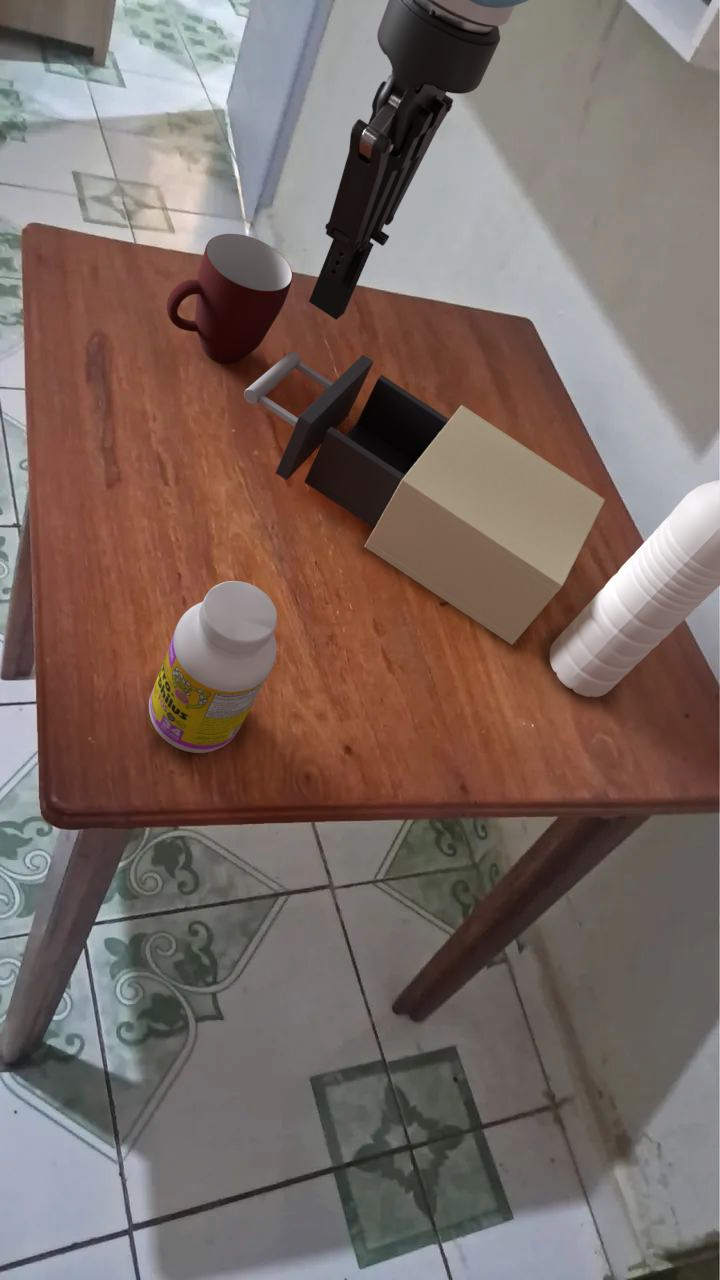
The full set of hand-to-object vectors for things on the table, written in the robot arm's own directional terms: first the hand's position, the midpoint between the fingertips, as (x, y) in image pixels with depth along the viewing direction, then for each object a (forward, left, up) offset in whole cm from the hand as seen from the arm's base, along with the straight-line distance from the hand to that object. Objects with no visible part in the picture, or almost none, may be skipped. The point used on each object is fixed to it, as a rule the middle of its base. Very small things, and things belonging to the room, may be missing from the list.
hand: (326, 307), depth 78 cm
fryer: (+21, 0, -14) cm, 25 cm away
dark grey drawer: (+7, 0, -13) cm, 15 cm away
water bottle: (+36, -5, -14) cm, 39 cm away
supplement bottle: (+11, -31, -14) cm, 36 cm away
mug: (-10, +4, -14) cm, 18 cm away
